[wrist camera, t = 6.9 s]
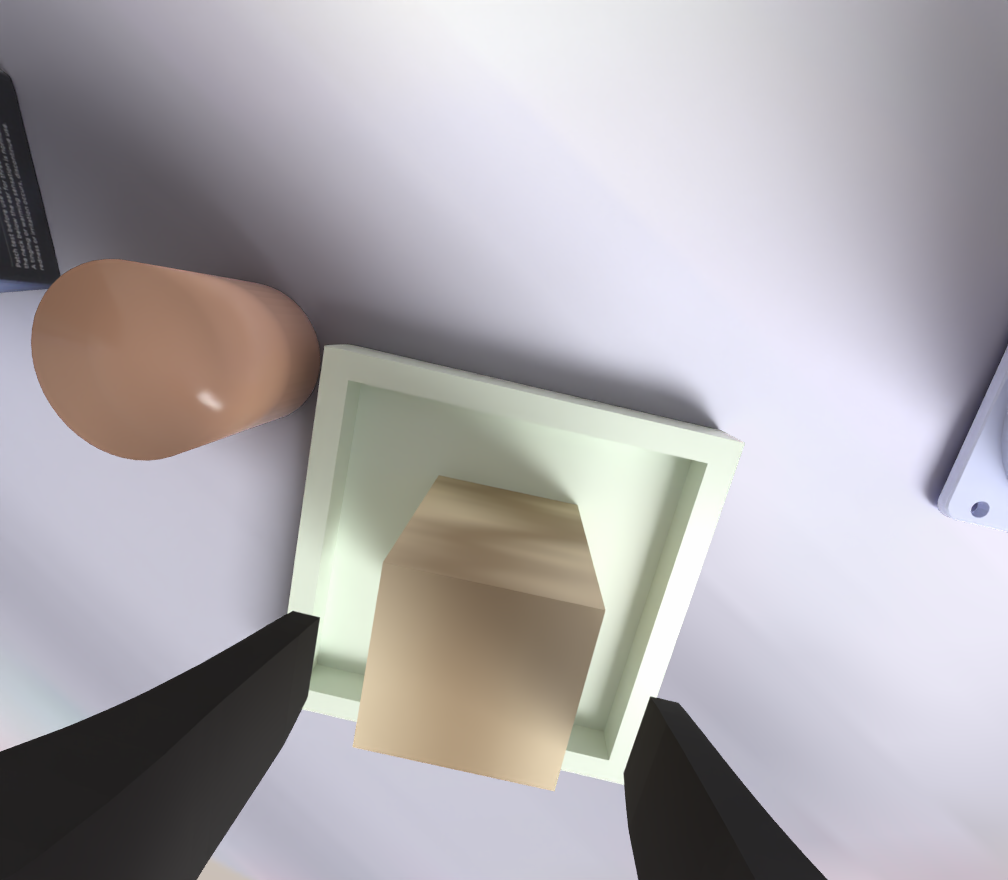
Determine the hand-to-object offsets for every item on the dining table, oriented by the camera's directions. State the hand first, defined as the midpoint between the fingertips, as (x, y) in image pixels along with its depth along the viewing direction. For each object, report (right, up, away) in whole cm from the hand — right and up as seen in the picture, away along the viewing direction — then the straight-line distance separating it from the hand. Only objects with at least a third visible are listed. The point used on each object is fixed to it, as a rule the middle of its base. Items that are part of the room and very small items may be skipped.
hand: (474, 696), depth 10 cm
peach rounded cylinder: (-7, +8, +5) cm, 12 cm away
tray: (0, +1, +6) cm, 7 cm away
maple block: (0, +2, +6) cm, 6 cm away
